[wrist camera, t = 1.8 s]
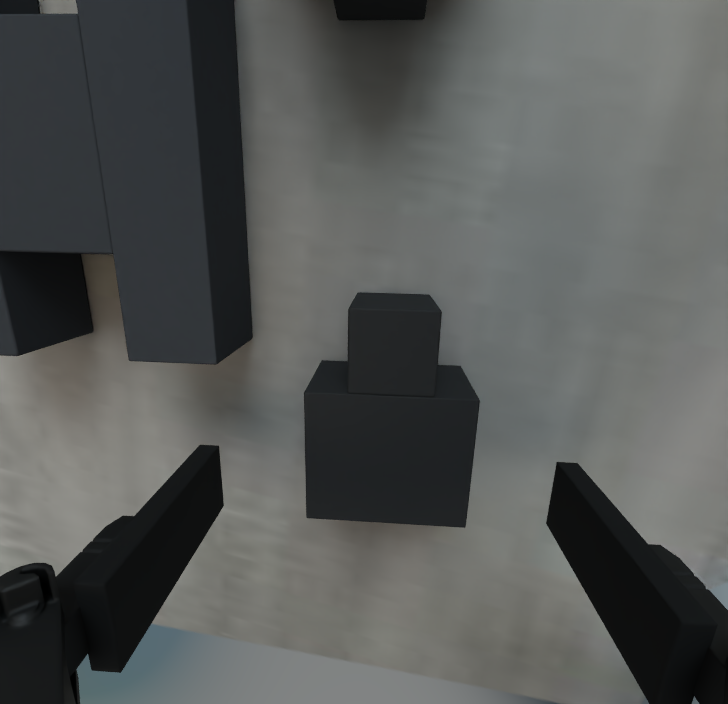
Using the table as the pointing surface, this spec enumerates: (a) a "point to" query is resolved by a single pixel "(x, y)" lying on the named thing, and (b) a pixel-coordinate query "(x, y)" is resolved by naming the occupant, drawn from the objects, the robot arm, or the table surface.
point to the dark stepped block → (390, 421)
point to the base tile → (123, 175)
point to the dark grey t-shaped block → (380, 9)
